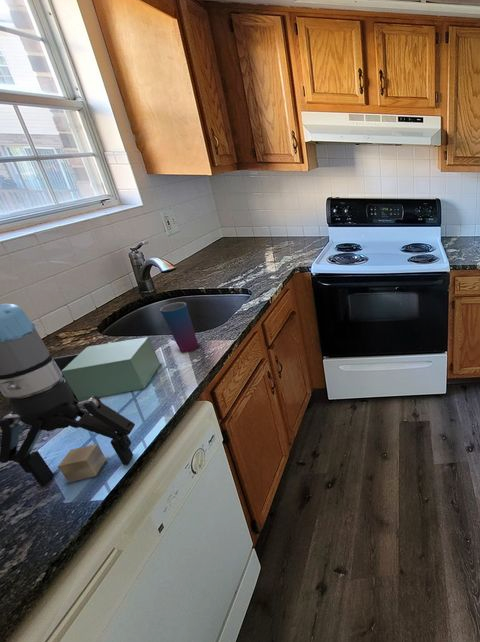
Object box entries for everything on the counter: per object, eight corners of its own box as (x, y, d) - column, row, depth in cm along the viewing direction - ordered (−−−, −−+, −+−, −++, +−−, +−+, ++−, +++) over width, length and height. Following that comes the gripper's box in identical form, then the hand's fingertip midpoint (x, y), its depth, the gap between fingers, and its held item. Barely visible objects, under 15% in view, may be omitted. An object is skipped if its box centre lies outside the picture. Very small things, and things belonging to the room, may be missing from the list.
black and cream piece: (-2, 412, 91) (-20, 387, 88) (28, 386, 101) (13, 362, 97) (90, 394, 96) (76, 370, 93) (110, 371, 106) (98, 348, 103)
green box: (78, 401, 95) (60, 371, 91) (102, 374, 106) (87, 346, 102) (144, 388, 100) (130, 359, 96) (160, 364, 110) (148, 336, 106)
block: (68, 482, 72) (57, 466, 70) (80, 465, 76) (70, 449, 74) (95, 476, 74) (85, 460, 72) (106, 459, 78) (97, 443, 76)
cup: (173, 349, 118) (155, 308, 112) (195, 340, 123) (180, 300, 117) (182, 355, 114) (165, 313, 108) (205, 346, 119) (190, 304, 113)
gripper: (-77, 418, 59) (-4, 505, 68) (109, 382, 66) (153, 466, 75) (-39, 390, 66) (24, 474, 75) (126, 361, 73) (165, 440, 82)
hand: (89, 470), depth 75 cm, fingers open, 13 cm apart
